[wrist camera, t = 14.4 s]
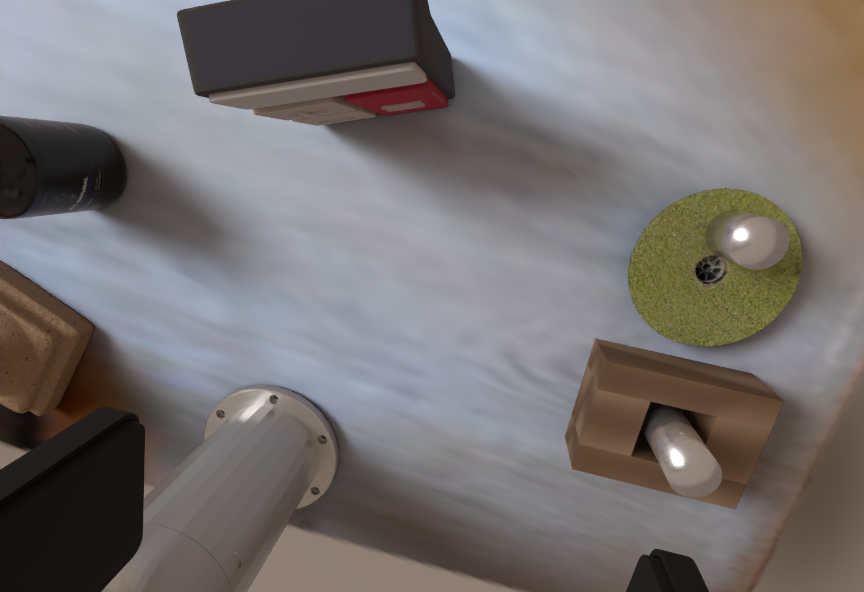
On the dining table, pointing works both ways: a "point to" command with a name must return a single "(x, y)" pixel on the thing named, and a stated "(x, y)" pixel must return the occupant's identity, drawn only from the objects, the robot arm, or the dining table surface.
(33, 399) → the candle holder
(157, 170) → the dining table surface
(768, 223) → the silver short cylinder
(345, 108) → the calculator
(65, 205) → the supplement bottle
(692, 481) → the long pin
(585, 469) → the hole block
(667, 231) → the mat
